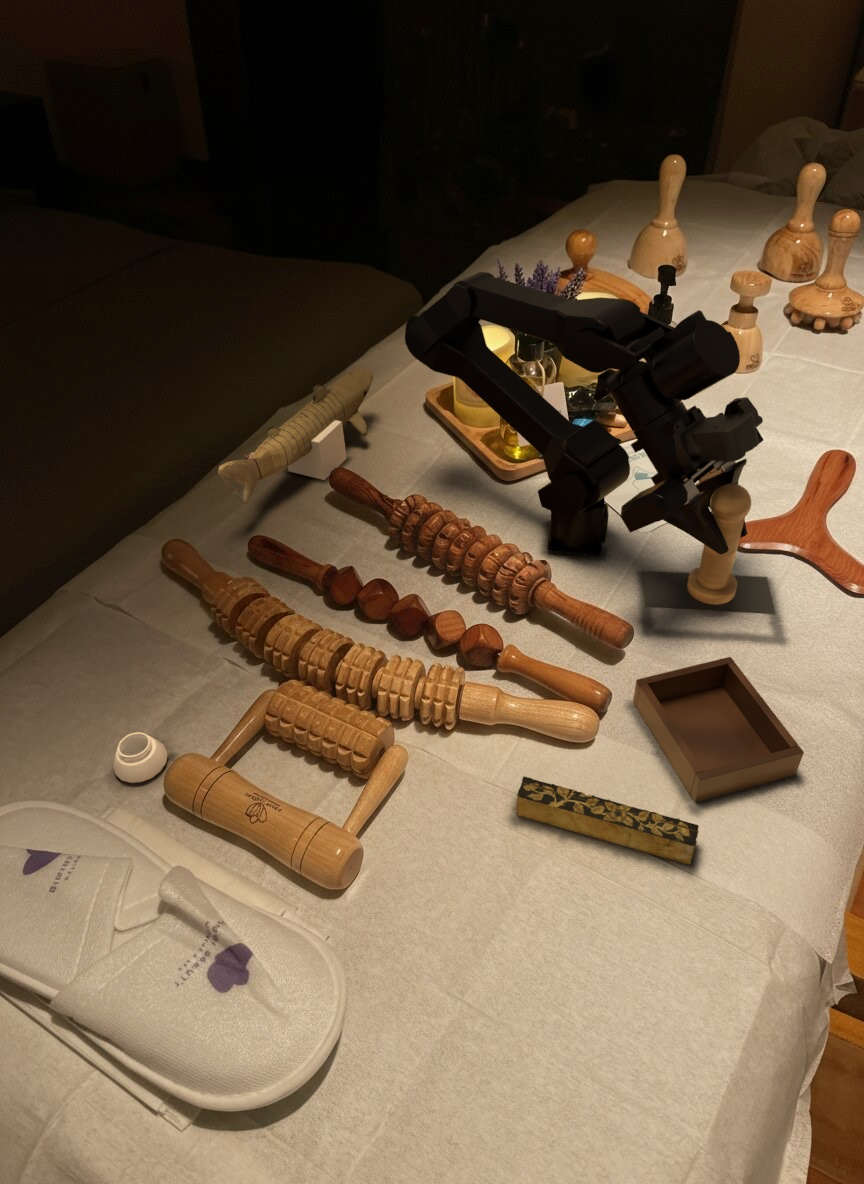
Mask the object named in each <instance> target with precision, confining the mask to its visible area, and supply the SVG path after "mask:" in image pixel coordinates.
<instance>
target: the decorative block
mask: <svg viewBox="0 0 864 1184" xmlns="http://www.w3.org/2000/svg"><path fill="white" fill-rule="evenodd" d="M516 816H519V817H523V818H526V819H530V820H532V821H537V822H540V823H544V824H547V825H550V826H554V827H557V828H561V829H564V830H567V831H571V832H575V833H578V834H582V835H585V836H589V837H591V838H595V839H599V840H602V841H606V842H608V843H609V842H610V843H612V844H616V845H620V846H623V847H626V848H630V849H633V850H637V851H640V852H642V853H643V852H644V853H647V854H650V855H653V856H657V857H661V858H664V859H667V860H672V861H675V862H678V863H682V864H685V865H688V866H689V865H691V862H692V860H693V857H694V854H695V850H696V848H697V843H698V840H697V839H698V836H699V833H700V832H699V826H700V825H699V824H695V823H692V822H689V821H685V820H682V819H680V817H676V818H675V817H671V816H668V815H663V814H660V813H658V812H655V811H650V810H647V809H642V808H638V807H635V806H631V805H628V804H623V803H620V802H617V801H612V800H611V799H606V798H602V797H598V796H595V795H594V794H586V793H585V792H583V791H577V790H575V789H572V788H567V787H563V786H562V785H557V784H555V783H549V782H545V781H541V780H537V779H534V778H533V777H529V776H525V775H524V776H522V779H521V783H520V787H519V788H518V791H517V794H516Z"/></svg>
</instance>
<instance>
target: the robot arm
mask: <svg viewBox="0 0 864 1184" xmlns="http://www.w3.org/2000/svg"><path fill="white" fill-rule="evenodd" d="M481 321H485V322H487V323H491V324H494V325H497V326H500V327H502V328H506V329H509V330H512V331H514V332H517V333H521V334H524V335H527V336H530V337H533V338H536V339H540V340H542V341H545V342H548V343H550V344H552V345H553V346H555V347H556V348H557V350H558V351H559V353H560V354H561V356H562V357H563V358H564V359H565V360H567V361H569V362H571V363H572V364H574V365H576V366H578V367H580V368H582V369H583V370H586V371H588V372H589V373H595V374H598V375H597V377H596V378H597V379H596V380H597V383H596V387H595V390H594V393H593V397H592V398H593V401H594V402H596V403H598V402H600V401H602V400H603V399H605V398H607V397H608V396H609V395H610V396H611V398H612V399H613V401H614V403H615V405H616V406H617V408H618V409H619V411H620V413H621V414H622V416H623V419H624V420H625V422H626V423H627V425H628V426H629V428H630V430H631V431H632V433H633V435H634V436H635V438H636V440H635V441H633V442H632V443H631V444H630V446H631V448H632V450H633V452H634V453H635V454H637V453H638V452H640V451H644V453H645V454H646V456H647V458H648V459H649V461H650V463H651V465H652V466H653V468H654V470H655V471H656V473H655V474H654V475H653V476H651V477H650V480H651V481H652V483H653V484H654V485H653V486H650V487H648V488H646V489H644V490H641V491H640V492H639V493H637V494H636V495H634V496H633V497H632V498H630V499H629V500H628V501H626V502H625V503H624V504H623V505H622V506H621V510H620V518H621V520H622V522H623V524H624V526H625V527H626V529H627V530H628V532H629V533H633V532H635V531H638V530H640V529H642V528H645V527H647V526H651V525H652V524H655V523H657V522H661V521H663V522H666V523H667V524H668V525H671V526H673V527H675V528H677V529H679V530H680V531H683V532H684V533H686V534H687V535H689V536H690V537H692V538H694V539H695V540H696V541H698V542H700V543H701V544H703V545H704V544H705V545H706V546H708V547H709V548H711V549H712V550H714V551H715V552H717V553H718V554H724V553H727V552H728V551H729V548H728V546H727V543H726V541H725V538H724V536H723V534H722V533H721V531H720V529H719V527H718V525H717V523H716V521H715V519H714V517H713V515H712V513H711V508H710V499H711V496H712V494H713V493H714V491H715V490H716V489H717V488H719V487H720V486H722V485H725V484H730V483H733V484H738V485H739V480H740V477H741V475H742V472H743V469H744V467H745V466H746V465H747V463H748V462H747V461H748V459H747V458H744V457H745V456H746V453H748V452H750V451H752V450H754V449H755V448H756V447H758V446H759V445H760V444H761V443H762V442H764V438H763V436H762V435H761V433H760V431H759V429H758V427H759V426H760V425H762V424H763V422H764V419H763V417H762V416H761V415H759V412H758V410H757V408H756V406H755V405H754V404H753V402H752V401H751V399H749V397H747V396H745V397H736V398H734V399H733V400H731V401H730V402H729V403H727V404H726V405H725V408H724V412H719V413H718V414H717V415H715V416H708V417H706V415H704V413H703V411H702V409H701V408H700V407H697V405H693V406H691V407H689V408H687V406H686V404H685V403H684V402H683V401H686V400H689V399H692V398H693V397H695V396H697V395H698V394H700V393H702V392H703V391H705V390H707V389H710V388H711V387H712V386H714V385H716V384H718V383H720V382H721V381H723V380H725V379H726V378H729V377H730V376H732V375H734V374H735V373H736V372H737V370H738V369H739V366H740V363H741V362H740V361H741V354H740V349H739V346H738V343H737V341H736V339H735V337H734V335H733V334H732V332H731V331H728V330H727V329H726V328H725V327H724V326H723V325H721V324H720V323H718V322H716V321H714V320H710V319H707V318H706V316H705V314H704V313H703V311H702V310H699V309H698V310H696V311H694V312H693V313H691V314H690V315H688V316H687V317H684V318H683V319H682V320H680V321H679V322H678V324H676V326H675V327H674V326H673V325H670V324H668V323H666V322H664V321H662V320H660V319H657V318H655V317H653V316H652V315H649V314H647V313H644V312H643V311H641V307H640V306H639V305H638V304H636V303H635V302H633V301H631V300H629V299H625V298H613V297H591V298H582V299H581V298H580V299H574V298H568V297H564V296H561V295H557V294H554V293H550V292H546V291H543V290H540V289H536V288H533V287H529V286H525V285H523V284H520V283H516V282H512V281H508V280H506V279H502V278H498V277H495V276H494V275H493V274H492V273H490V272H487V271H486V272H485V271H478V272H476V273H474V274H471V275H470V276H467V277H465V278H462V279H460V280H458V281H456V282H454V284H453V285H452V286H451V287H450V288H449V289H448V291H446V293H445V294H444V295H443V296H442V297H440V298H439V299H438V300H437V301H435V302H434V303H432V305H430V306H429V307H427V309H425V310H423V311H420V312H419V313H417V314H414V315H412V316H410V317H409V319H407V321H406V324H405V329H404V331H405V332H404V342H405V345H406V348H407V350H408V351H409V353H410V354H411V355H412V356H413V358H414V359H416V360H417V361H418V362H420V363H421V364H422V365H424V366H426V367H427V368H429V370H431V371H433V372H435V373H439V374H442V375H447V376H450V377H454V378H457V379H459V380H460V381H462V382H463V383H464V384H465V385H466V386H467V387H468V388H469V389H470V390H472V392H473V393H474V394H476V395H477V397H479V398H480V399H481V400H482V401H483V402H484V403H485V404H486V405H488V406H489V407H490V409H492V410H493V411H494V412H495V413H496V414H497V415H498V416H500V418H501V419H503V420H504V421H505V422H506V423H507V424H508V425H509V426H510V427H511V428H512V429H514V431H515V432H517V433H518V435H520V436H521V437H522V438H523V439H524V440H525V441H527V443H528V444H530V445H531V446H532V447H533V448H534V449H535V450H536V451H538V453H539V454H540V456H541V457H542V459H543V464H544V467H545V470H546V474H547V477H548V480H549V482H548V483H547V484H545V485H544V486H543V487H541V488H539V489H538V490H537V495H538V499H539V503H540V506H541V507H542V508H543V509H545V510H548V511H550V517H549V518H550V519H549V521H548V538H547V553H548V554H553V555H571V556H574V555H575V556H592V557H594V556H595V557H599V556H601V555H602V553H603V545H602V544H605V543H606V542H607V534H608V527H609V516H610V515H609V504H608V503H607V502H606V501H605V498H606V497H607V496H609V494H611V493H613V492H614V491H615V490H616V489H618V488H619V487H620V486H622V485H623V484H624V483H626V482H627V481H628V479H629V476H630V474H631V465H630V461H629V460H630V456H629V454H628V452H627V451H626V449H625V448H624V447H623V446H622V445H621V443H622V442H623V441H622V439H621V438H618V437H616V436H614V435H613V434H612V433H611V432H609V431H608V430H607V429H606V427H605V426H604V425H603V424H602V423H601V422H600V421H598V420H597V419H592V420H591V421H589V422H588V423H587V424H585V425H584V426H583V425H580V424H577V423H573V422H571V421H570V420H569V419H568V418H566V417H565V416H564V415H563V414H562V413H561V412H560V411H559V410H558V409H557V408H556V407H555V406H553V405H552V404H551V403H550V402H549V401H548V400H547V399H546V398H545V397H544V396H543V395H541V394H540V393H539V392H538V391H536V389H535V388H533V387H532V386H531V385H530V384H529V383H528V382H527V381H526V380H525V379H524V378H522V377H521V375H519V374H518V373H517V372H516V371H515V370H513V369H512V367H510V366H509V365H508V364H507V363H506V362H505V361H503V360H502V359H501V358H500V357H499V356H498V355H497V354H496V353H495V352H494V351H493V350H491V348H490V347H489V346H488V345H487V342H486V338H485V335H484V331H483V327H482V324H481V323H480V322H481ZM642 359H643V360H644V361H643V360H642ZM599 373H600V374H599ZM743 458H744V459H743ZM739 460H740V461H739ZM605 502H606V503H605ZM747 535H748V529H747V525H746V520H744V524H743V528H742V532H741V536H740V539H741V538H744V537H746V536H747Z"/></svg>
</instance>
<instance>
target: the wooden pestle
mask: <svg viewBox="0 0 864 1184" xmlns="http://www.w3.org/2000/svg"><path fill="white" fill-rule="evenodd" d="M710 508H711V509H710ZM710 508H709V509H710V511H711V513H712V515H713V517H714V519H715V521H716V523H717V525H718V527H719V529H720V531H721V533H722V534H723V536H724V538H725V541H726V543H727V546H728V548H729V551H728V552H727V553H724V554H718V553H717V552H715V551H714V550H712V549H711V548H709V547H708V546H706V545H705V544H703V548H702V553H701V557H700V562H699V567H696V568H694V569H693V570H691V571H690V572H689V573H690V574H689V577H688V582H687V589H688V592H689V593H690V594H691V596H693V597H694V598H695V599H697V600H699V601H701V602H704V603H707V604H723V603H727V602H729V601H730V600H732V599H733V598H734V596H735V593H736V589H737V580H736V578H735V577H734V576H733V575H734V574H733V569H734V566H735V565H734V564H735V560H736V556H737V552H738V548H739V545H740V540H741V538H740V536H741V532H742V528H743V524H744V520H745V519H746V517H747V515H748V514H749V513H750V511H751V508H752V497H751V494H750V492H749V490H747V488H745V487H743V486H742V485H741V484H739V483H738V484H733V483H730V484H725V485H722V486H720V487H719V488H717V489H716V490H715V491H714V493H713V494H712V496H711V499H710ZM745 521H746V520H745Z"/></svg>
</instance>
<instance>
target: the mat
mask: <svg viewBox="0 0 864 1184" xmlns="http://www.w3.org/2000/svg"><path fill="white" fill-rule="evenodd" d="M690 573H691V572H676V571H675V572H674V571H656V570H655V571H654V570H643V571H642V584H643V596H644V597H643V598H644V607H645V608H654V609H671V610H673V609H674V610H689V611H690V610H692V611H710V612H725V613H726V612H727V613H744V614H745V613H746V614H759V615H760V614H762V615H763V614H764V615H776V610H775V609H776V608H775V606H774V602H773V597H772V594H771V589H770V584H769V581H768V577H767V576H752V575H735V574H732V575H733V576H734V577H735V578H736V580H737V589H736V593H735V596H734V598H733V599H732V600H730V601H729V602H727V603H723V604H707V603H704V602H701V601H699V600H697V599H695V598H694V597H693V596H691V594H690V593H689V592H688V589H687V582H688V577H689V574H690Z"/></svg>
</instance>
